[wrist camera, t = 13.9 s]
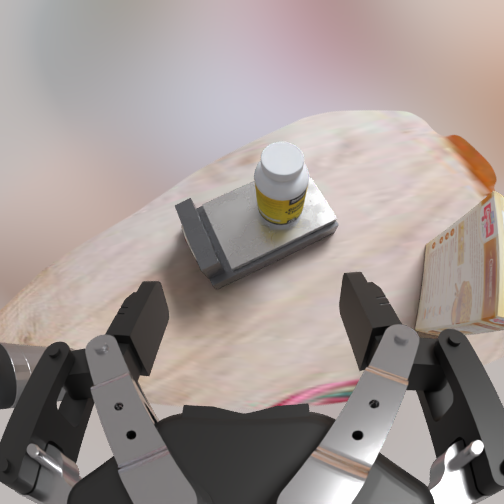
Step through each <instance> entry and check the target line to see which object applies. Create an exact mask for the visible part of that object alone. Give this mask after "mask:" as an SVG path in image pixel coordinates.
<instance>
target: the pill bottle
mask: <svg viewBox="0 0 504 504" xmlns="http://www.w3.org/2000/svg"><path fill="white" fill-rule="evenodd" d="M254 180H255V189H256V197H257V206H258V210H259V213H260V215H261V216H262V217H263V218H264V219H265V220H266V221H267V222H269V223H271V224H274V225H279V226H283V225H288V224H291V223H293V222H294V221H296V220H297V219H298V218H299V216H300V215H301V213H302V211H303V207H304V202H305V197H306V192H307V188H308V183H309V172H308V169H307V167H306V165H305V163H304V155H303V153H302V151H301V150H300V149H299V148H298V147H297V146H296V145H294V144H292V143H289V142H275V143H272V144H270V145H268V146H267V147H266V148H265V149H264V150H263V152H262V154H261V161H260V162H259V163H258V165H257V167H256V169H255V174H254Z"/></svg>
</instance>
